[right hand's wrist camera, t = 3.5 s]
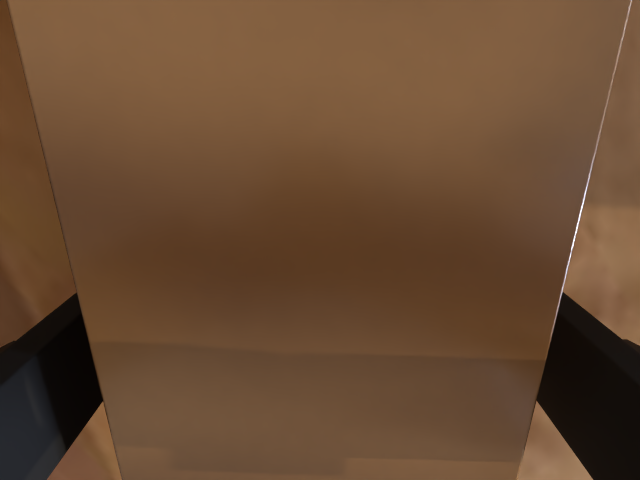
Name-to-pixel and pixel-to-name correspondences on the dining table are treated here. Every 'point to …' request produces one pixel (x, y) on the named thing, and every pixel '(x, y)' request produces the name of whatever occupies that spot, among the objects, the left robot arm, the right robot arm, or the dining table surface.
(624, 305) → the dining table surface
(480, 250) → the wooden beam
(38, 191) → the dining table surface
